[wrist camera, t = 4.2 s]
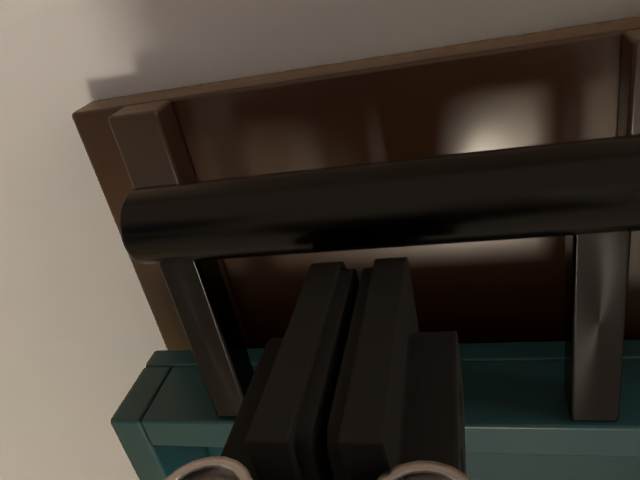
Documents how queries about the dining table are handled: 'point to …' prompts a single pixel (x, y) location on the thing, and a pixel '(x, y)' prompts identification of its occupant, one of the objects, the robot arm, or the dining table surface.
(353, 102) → the runners
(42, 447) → the dining table surface
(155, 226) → the tray
